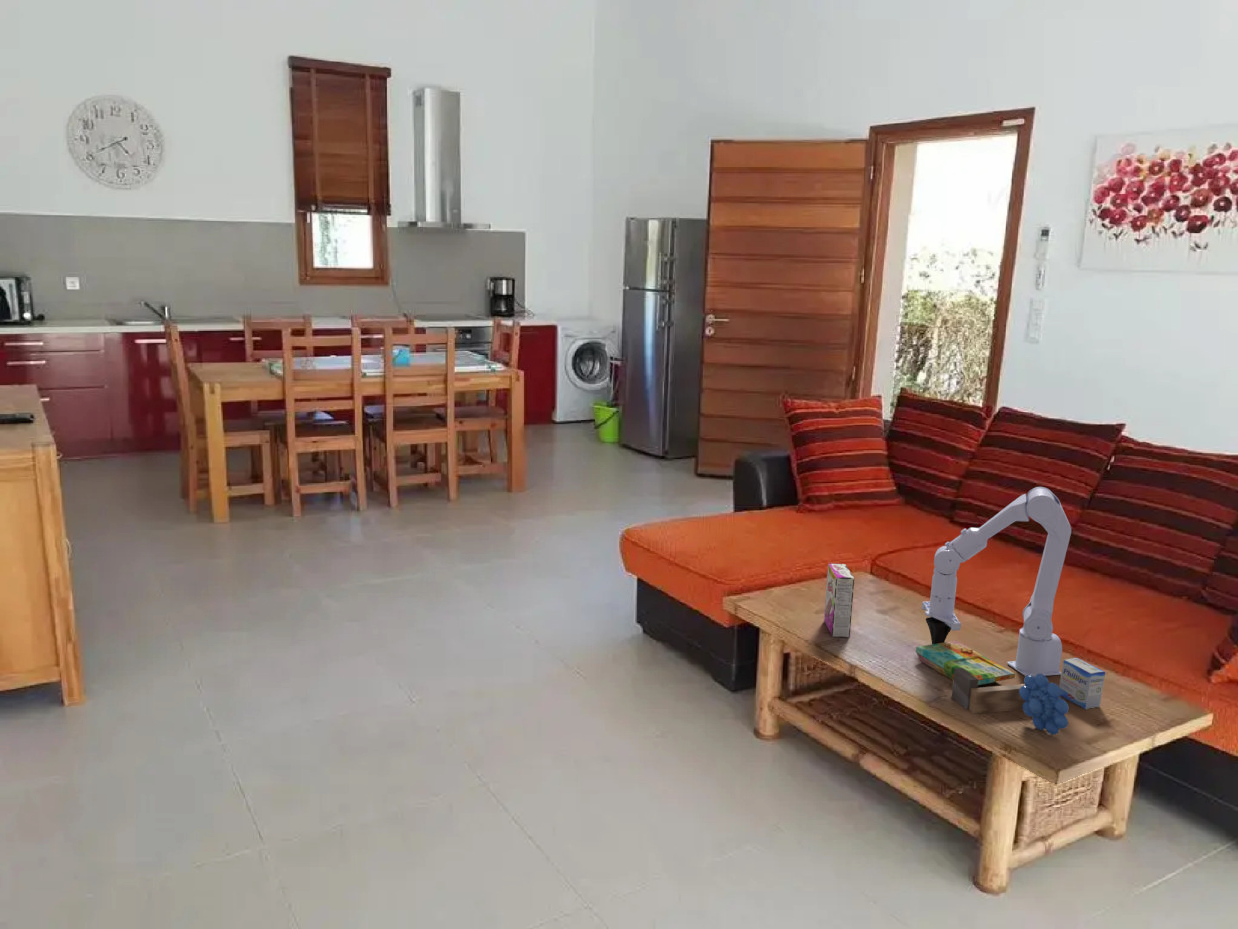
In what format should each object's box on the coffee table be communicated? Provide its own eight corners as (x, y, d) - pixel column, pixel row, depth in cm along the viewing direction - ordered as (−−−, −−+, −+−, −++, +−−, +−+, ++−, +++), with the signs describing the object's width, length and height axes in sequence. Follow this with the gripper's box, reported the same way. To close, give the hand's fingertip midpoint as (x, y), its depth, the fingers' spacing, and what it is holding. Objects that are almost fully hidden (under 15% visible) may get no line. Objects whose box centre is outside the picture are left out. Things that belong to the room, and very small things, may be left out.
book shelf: (1031, 690, 220) (1035, 662, 219) (1054, 706, 213) (1058, 677, 211) (951, 697, 216) (954, 668, 214) (971, 714, 208) (975, 684, 206)
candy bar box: (822, 621, 258) (827, 562, 254) (841, 621, 258) (846, 563, 254) (830, 637, 247) (835, 577, 244) (850, 638, 247) (855, 577, 244)
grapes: (1002, 722, 205) (1009, 669, 202) (1023, 715, 208) (1030, 663, 206) (1050, 746, 195) (1058, 692, 192) (1072, 739, 198) (1079, 685, 196)
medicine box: (1057, 695, 219) (1062, 659, 217) (1072, 692, 220) (1077, 656, 218) (1085, 710, 211) (1090, 673, 209) (1100, 707, 213) (1106, 671, 211)
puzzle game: (954, 637, 238) (1015, 670, 220) (952, 655, 239) (1013, 689, 221) (916, 643, 233) (975, 677, 215) (914, 661, 235) (973, 696, 217)
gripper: (912, 585, 241) (907, 636, 244) (944, 606, 228) (938, 660, 231) (938, 584, 243) (932, 634, 246) (971, 605, 229) (964, 658, 232)
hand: (937, 647), depth 238 cm, fingers closed
